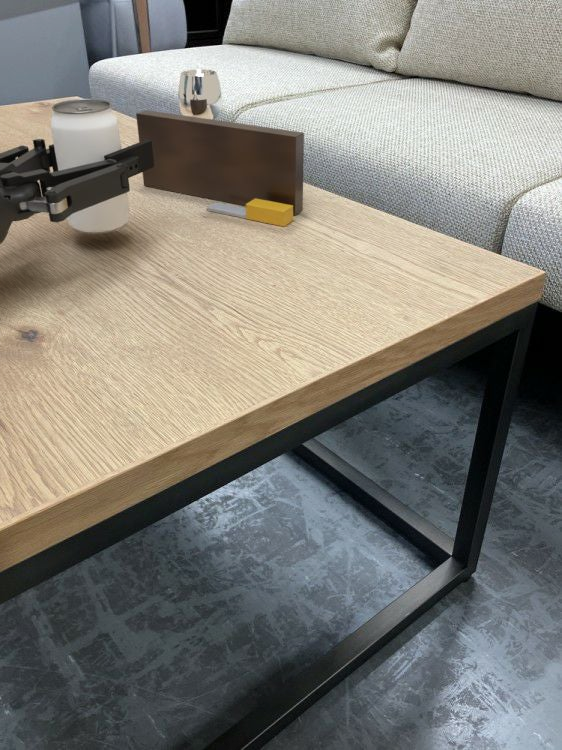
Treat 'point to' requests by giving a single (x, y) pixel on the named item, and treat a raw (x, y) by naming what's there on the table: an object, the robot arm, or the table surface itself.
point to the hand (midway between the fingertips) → (122, 148)
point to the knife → (258, 211)
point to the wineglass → (200, 94)
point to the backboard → (223, 159)
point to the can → (89, 156)
